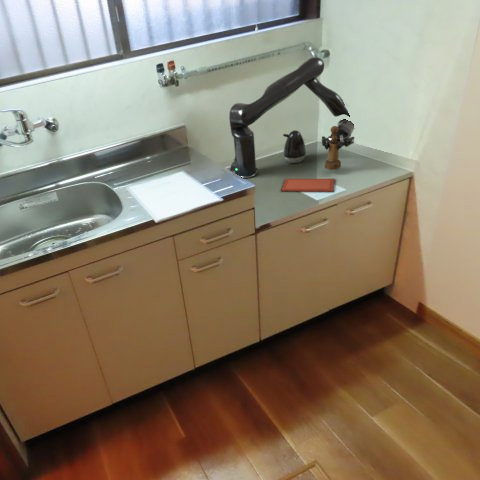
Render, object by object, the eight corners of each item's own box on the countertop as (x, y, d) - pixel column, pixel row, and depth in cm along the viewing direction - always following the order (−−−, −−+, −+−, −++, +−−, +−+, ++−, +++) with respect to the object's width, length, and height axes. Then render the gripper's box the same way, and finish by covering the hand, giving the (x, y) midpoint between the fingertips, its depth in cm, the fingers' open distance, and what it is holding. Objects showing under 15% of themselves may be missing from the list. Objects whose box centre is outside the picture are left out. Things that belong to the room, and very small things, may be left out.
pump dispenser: (281, 159, 201) (280, 129, 193) (302, 156, 199) (302, 125, 192) (286, 166, 192) (285, 135, 184) (308, 163, 191) (308, 131, 183)
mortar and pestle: (342, 169, 173) (344, 127, 164) (325, 170, 174) (327, 129, 165) (339, 163, 178) (341, 123, 169) (323, 164, 180) (325, 125, 171)
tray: (281, 191, 170) (281, 190, 169) (285, 180, 179) (285, 178, 179) (332, 192, 161) (332, 190, 161) (334, 179, 171) (334, 178, 170)
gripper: (325, 125, 183) (315, 138, 171) (359, 125, 175) (351, 138, 164) (324, 141, 187) (314, 155, 175) (358, 142, 179) (349, 156, 167)
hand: (332, 147), depth 169 cm, fingers closed on mortar and pestle, 4 cm apart
